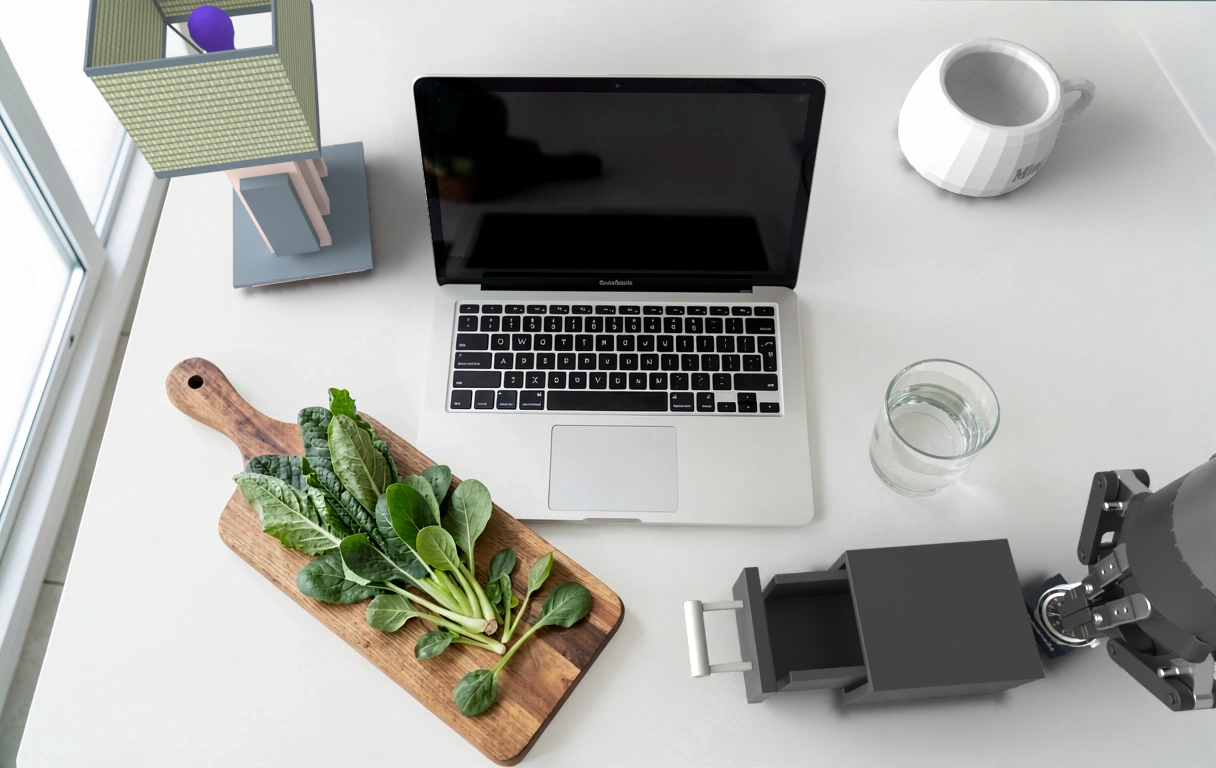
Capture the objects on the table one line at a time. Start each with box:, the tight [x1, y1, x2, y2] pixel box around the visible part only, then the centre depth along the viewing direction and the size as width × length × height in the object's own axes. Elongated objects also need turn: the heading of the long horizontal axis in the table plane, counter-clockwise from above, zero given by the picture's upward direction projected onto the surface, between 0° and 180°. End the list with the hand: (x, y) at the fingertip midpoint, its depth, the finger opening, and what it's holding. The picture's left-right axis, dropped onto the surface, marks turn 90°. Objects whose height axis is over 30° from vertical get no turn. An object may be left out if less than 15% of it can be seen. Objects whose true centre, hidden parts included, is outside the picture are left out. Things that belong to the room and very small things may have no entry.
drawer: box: [683, 566, 868, 705], centre depth 76 cm, size 18×10×7 cm, turn 94°
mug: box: [897, 37, 1096, 198], centre depth 100 cm, size 21×17×10 cm
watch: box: [1023, 572, 1125, 661], centre depth 76 cm, size 6×8×11 cm
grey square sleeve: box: [826, 538, 1046, 706], centre depth 76 cm, size 14×11×9 cm
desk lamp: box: [82, 0, 374, 290], centre depth 84 cm, size 18×14×33 cm
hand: (1075, 617), depth 54 cm, fingers closed
